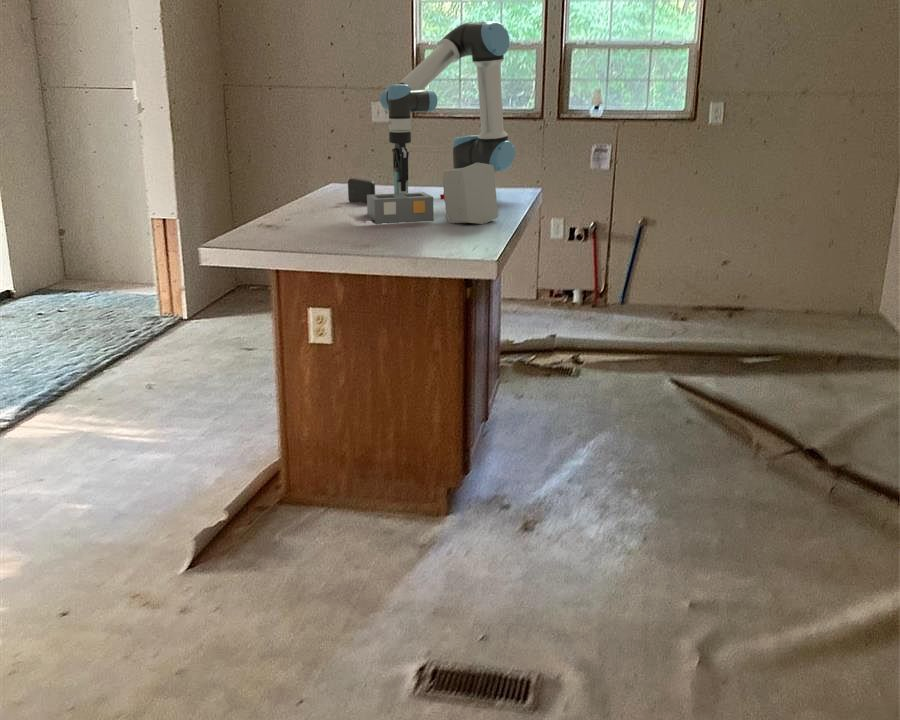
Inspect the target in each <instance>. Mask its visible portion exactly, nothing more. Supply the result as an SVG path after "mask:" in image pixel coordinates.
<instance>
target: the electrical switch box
mask: <svg viewBox="0 0 900 720" xmlns="http://www.w3.org/2000/svg"><path fill="white" fill-rule="evenodd" d="M442 186H443V188H442V190H443V194H440V195H439V198H440V200H444V208H445V214H446V216H447V219H448V222H449V224H468V223H469V224H478V225H479V224H480V225H484V224H487V223H489V222H491V221H493V220H495V219H496V220H497V219H498V217H499V209H498V208H499V207H498V201H497V197H498V196H497V190H496V189H497V186H496V178H495V172H494V166H493V165H490V164H484V163H475V164H472V165H470V166H467V167H465V168H458V169H453V168H452V169H451V168H450V169H445V170H443V176H442Z"/></svg>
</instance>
